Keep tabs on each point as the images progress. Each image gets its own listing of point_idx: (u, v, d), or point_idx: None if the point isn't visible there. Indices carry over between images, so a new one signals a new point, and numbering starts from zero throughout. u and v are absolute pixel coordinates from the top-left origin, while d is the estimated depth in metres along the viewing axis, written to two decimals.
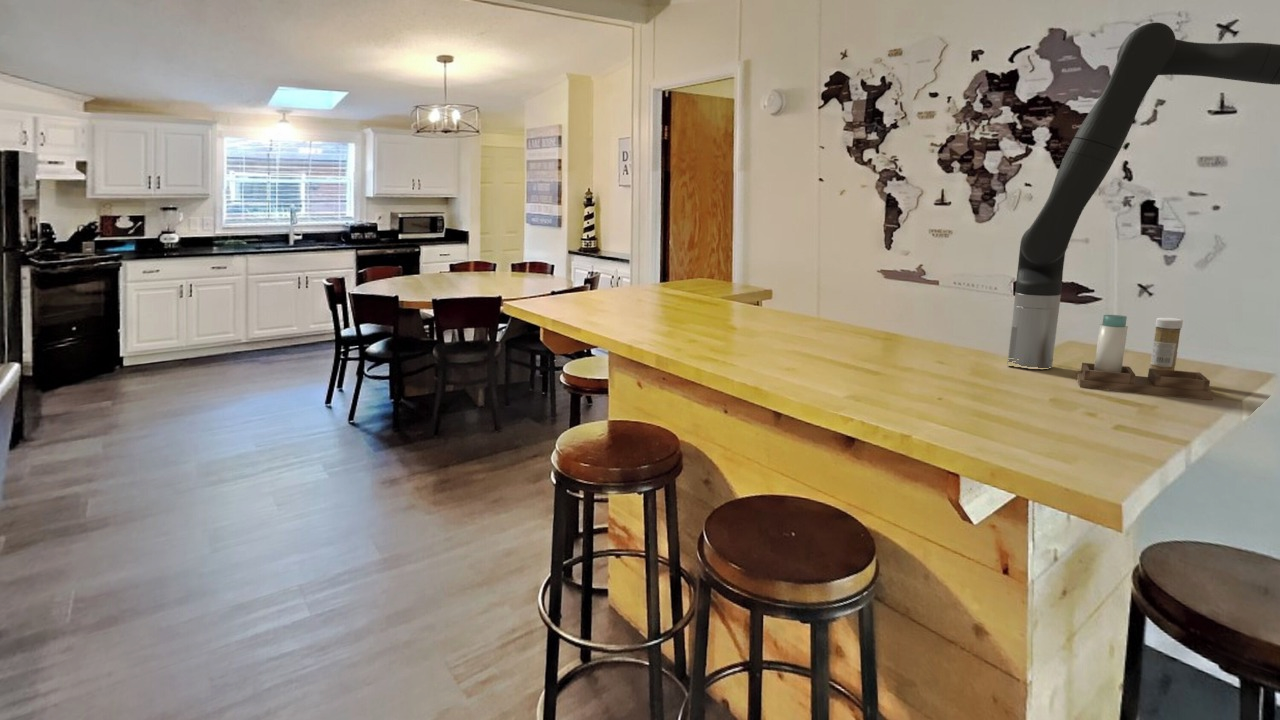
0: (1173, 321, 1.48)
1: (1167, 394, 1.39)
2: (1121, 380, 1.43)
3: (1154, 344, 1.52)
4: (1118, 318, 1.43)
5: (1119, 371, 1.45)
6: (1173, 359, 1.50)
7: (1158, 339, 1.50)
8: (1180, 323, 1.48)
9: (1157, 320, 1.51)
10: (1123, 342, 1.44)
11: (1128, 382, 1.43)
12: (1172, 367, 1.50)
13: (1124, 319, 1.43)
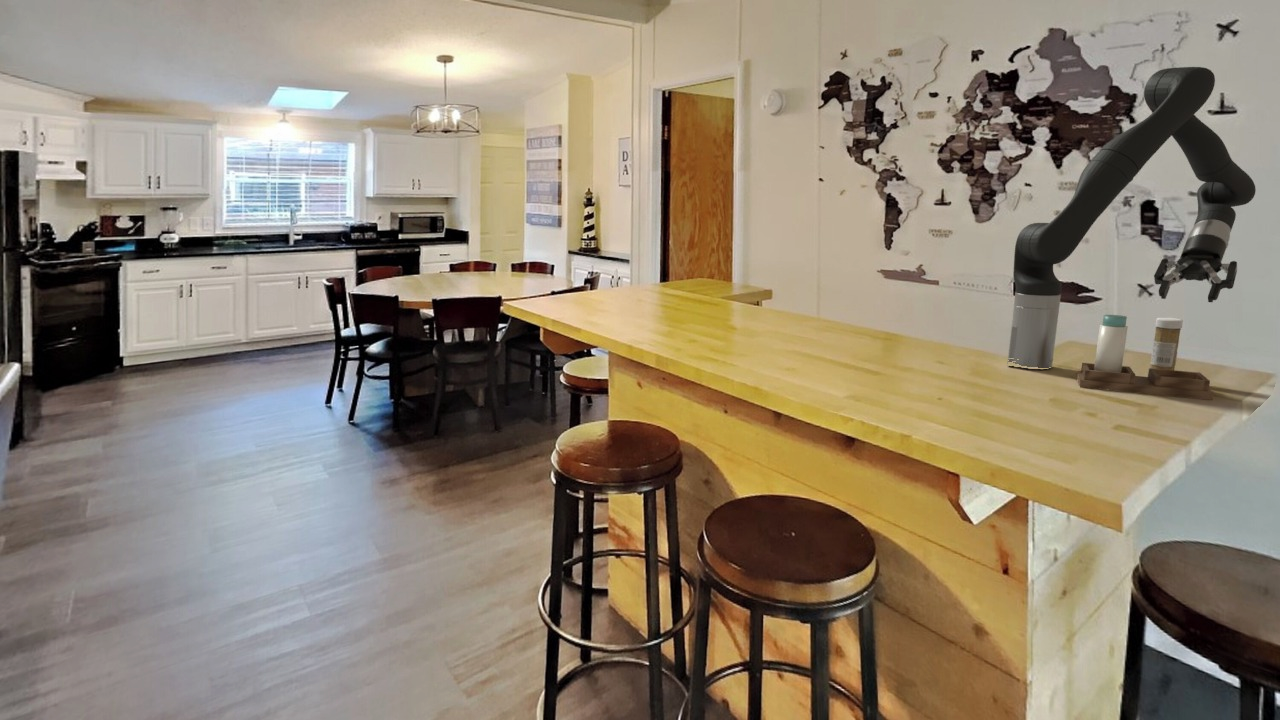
0: (1173, 321, 1.48)
1: (1167, 394, 1.39)
2: (1121, 380, 1.43)
3: (1154, 344, 1.52)
4: (1118, 318, 1.43)
5: (1119, 371, 1.45)
6: (1173, 359, 1.50)
7: (1158, 339, 1.50)
8: (1180, 323, 1.48)
9: (1157, 320, 1.51)
10: (1123, 342, 1.44)
11: (1128, 382, 1.43)
12: (1172, 367, 1.50)
13: (1124, 319, 1.43)
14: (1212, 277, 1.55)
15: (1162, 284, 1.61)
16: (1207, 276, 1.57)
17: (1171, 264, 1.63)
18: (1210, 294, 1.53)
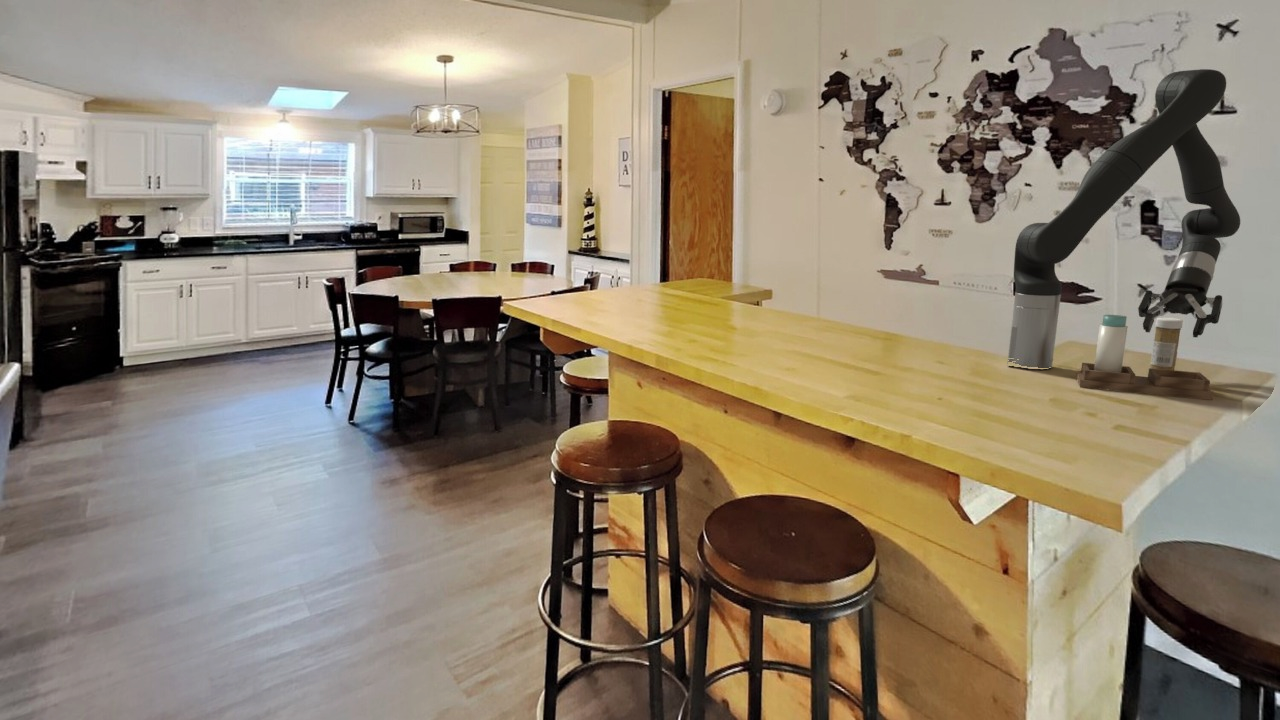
0: (1173, 321, 1.48)
1: (1167, 394, 1.39)
2: (1121, 380, 1.43)
3: (1154, 344, 1.52)
4: (1118, 318, 1.43)
5: (1119, 370, 1.45)
6: (1173, 359, 1.50)
7: (1158, 339, 1.50)
8: (1180, 323, 1.48)
9: (1157, 320, 1.51)
10: (1123, 342, 1.44)
11: (1128, 382, 1.43)
12: (1172, 367, 1.50)
13: (1124, 319, 1.43)
14: (1197, 311, 1.51)
15: (1146, 317, 1.57)
16: (1192, 310, 1.53)
17: (1155, 296, 1.59)
18: (1195, 329, 1.49)
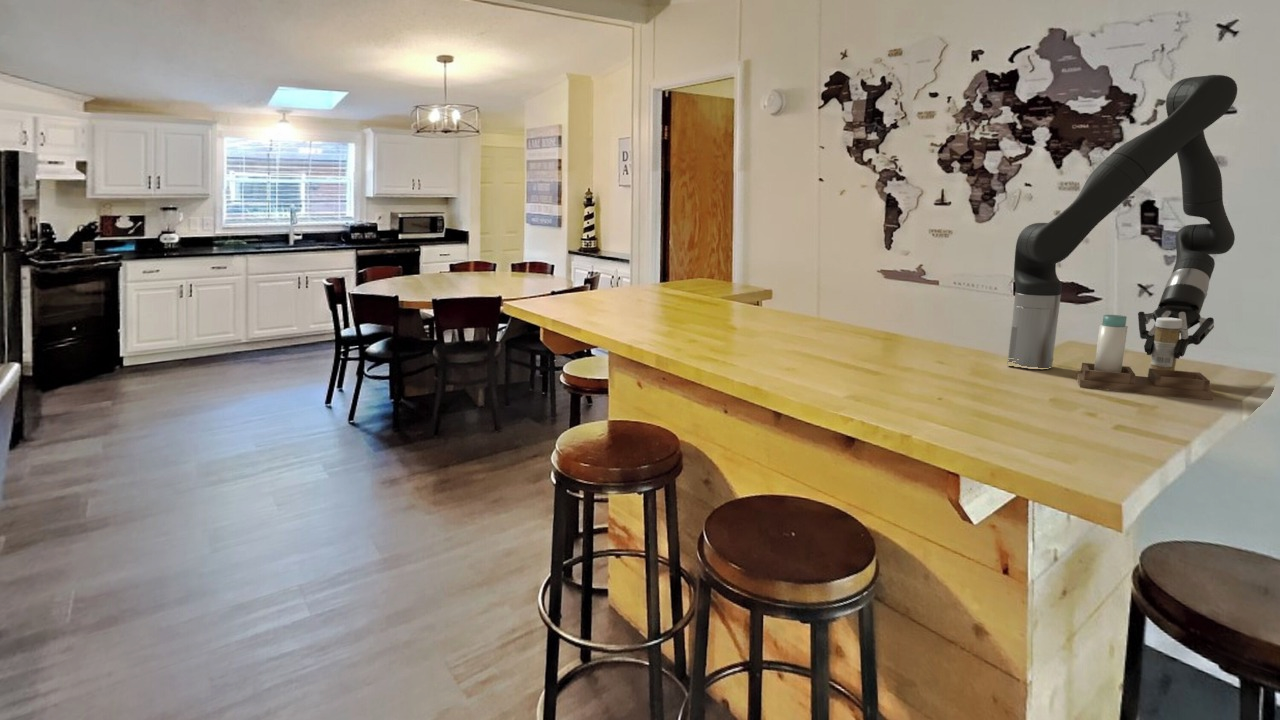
0: (1173, 321, 1.48)
1: (1167, 394, 1.39)
2: (1121, 380, 1.43)
3: (1154, 344, 1.52)
4: (1118, 318, 1.43)
5: (1119, 370, 1.45)
6: (1173, 359, 1.50)
7: (1158, 339, 1.50)
8: (1180, 323, 1.48)
9: (1157, 320, 1.51)
10: (1123, 342, 1.44)
11: (1128, 382, 1.43)
12: (1172, 367, 1.50)
13: (1124, 319, 1.43)
14: (1182, 331, 1.50)
15: (1148, 339, 1.53)
16: None
17: (1149, 316, 1.56)
18: (1177, 350, 1.48)
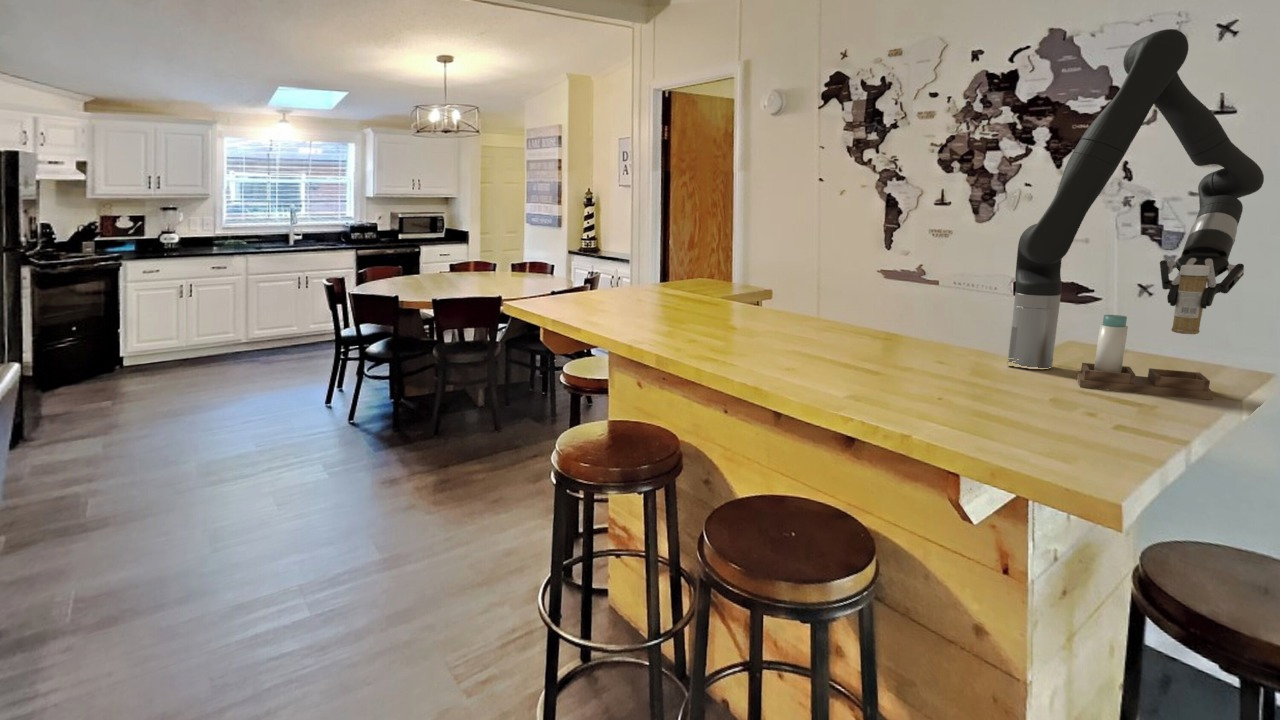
0: (1200, 267, 1.36)
1: (1167, 394, 1.39)
2: (1121, 380, 1.43)
3: (1178, 294, 1.39)
4: (1118, 318, 1.43)
5: (1119, 371, 1.45)
6: (1199, 309, 1.38)
7: (1183, 288, 1.38)
8: (1207, 270, 1.36)
9: (1182, 267, 1.38)
10: (1123, 342, 1.44)
11: (1128, 382, 1.43)
12: (1198, 318, 1.38)
13: (1124, 319, 1.43)
14: (1209, 279, 1.38)
15: (1171, 289, 1.41)
16: None
17: (1172, 265, 1.44)
18: (1204, 299, 1.36)
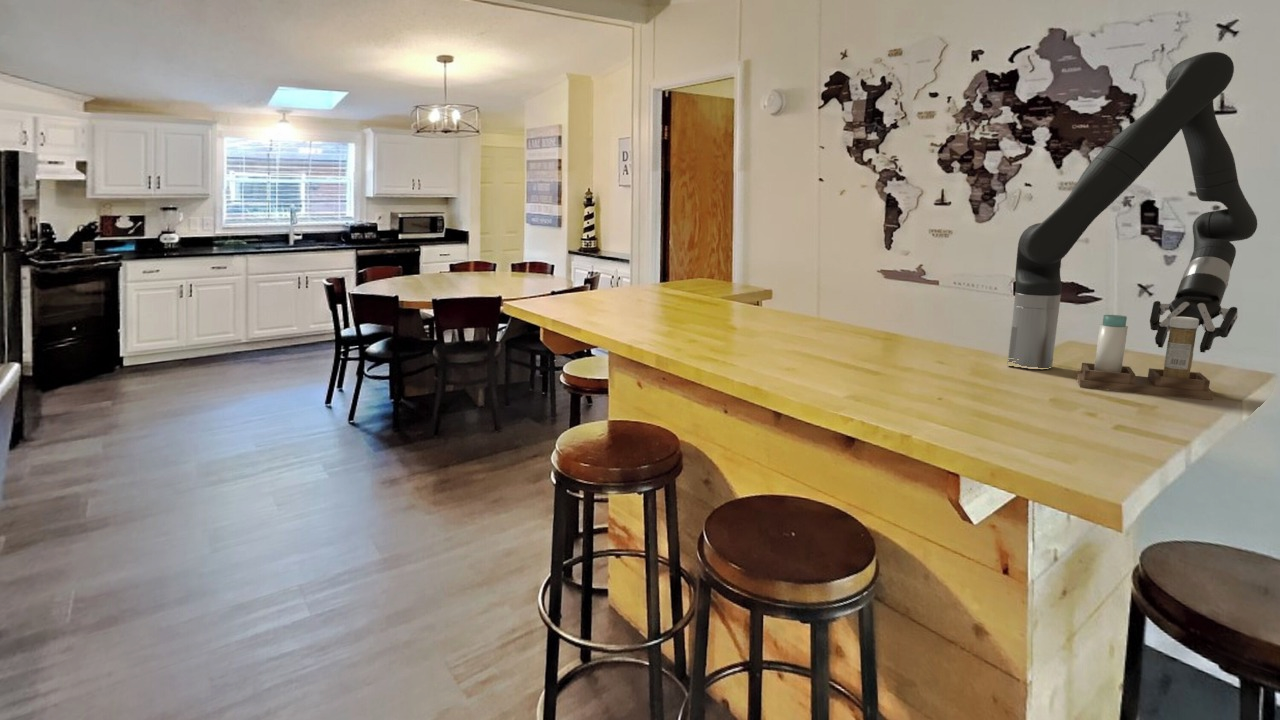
0: (1189, 320, 1.38)
1: (1167, 394, 1.39)
2: (1121, 380, 1.43)
3: (1168, 345, 1.42)
4: (1118, 318, 1.43)
5: (1119, 370, 1.45)
6: (1189, 361, 1.40)
7: (1173, 340, 1.41)
8: (1196, 322, 1.38)
9: (1171, 319, 1.41)
10: (1123, 342, 1.44)
11: (1128, 382, 1.43)
12: (1188, 370, 1.40)
13: (1124, 319, 1.43)
14: (1206, 323, 1.39)
15: (1159, 331, 1.43)
16: (1202, 321, 1.41)
17: (1165, 307, 1.46)
18: (1202, 344, 1.37)
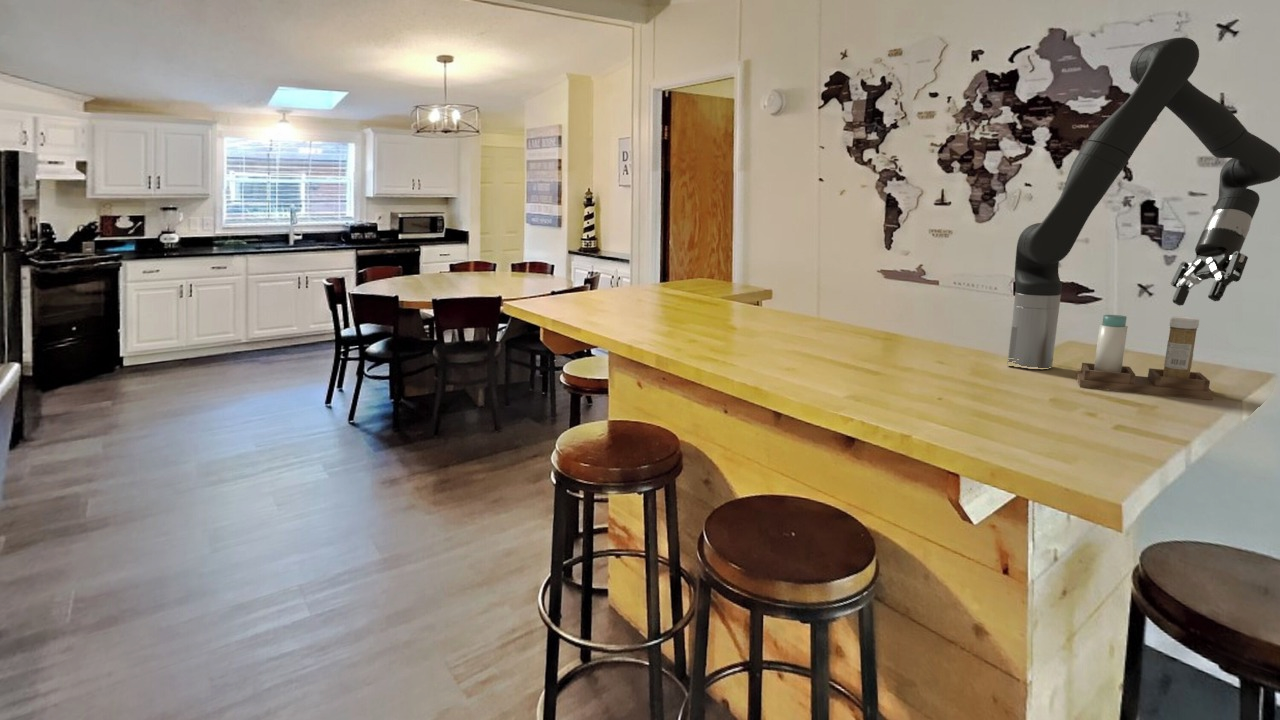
0: (1189, 320, 1.38)
1: (1167, 394, 1.39)
2: (1121, 380, 1.43)
3: (1168, 345, 1.42)
4: (1118, 318, 1.43)
5: (1119, 370, 1.45)
6: (1189, 361, 1.40)
7: (1173, 340, 1.41)
8: (1196, 323, 1.38)
9: (1172, 319, 1.41)
10: (1123, 342, 1.44)
11: (1128, 382, 1.43)
12: (1188, 370, 1.40)
13: (1124, 319, 1.43)
14: (1215, 274, 1.47)
15: (1177, 291, 1.56)
16: None
17: (1189, 266, 1.56)
18: (1210, 294, 1.46)
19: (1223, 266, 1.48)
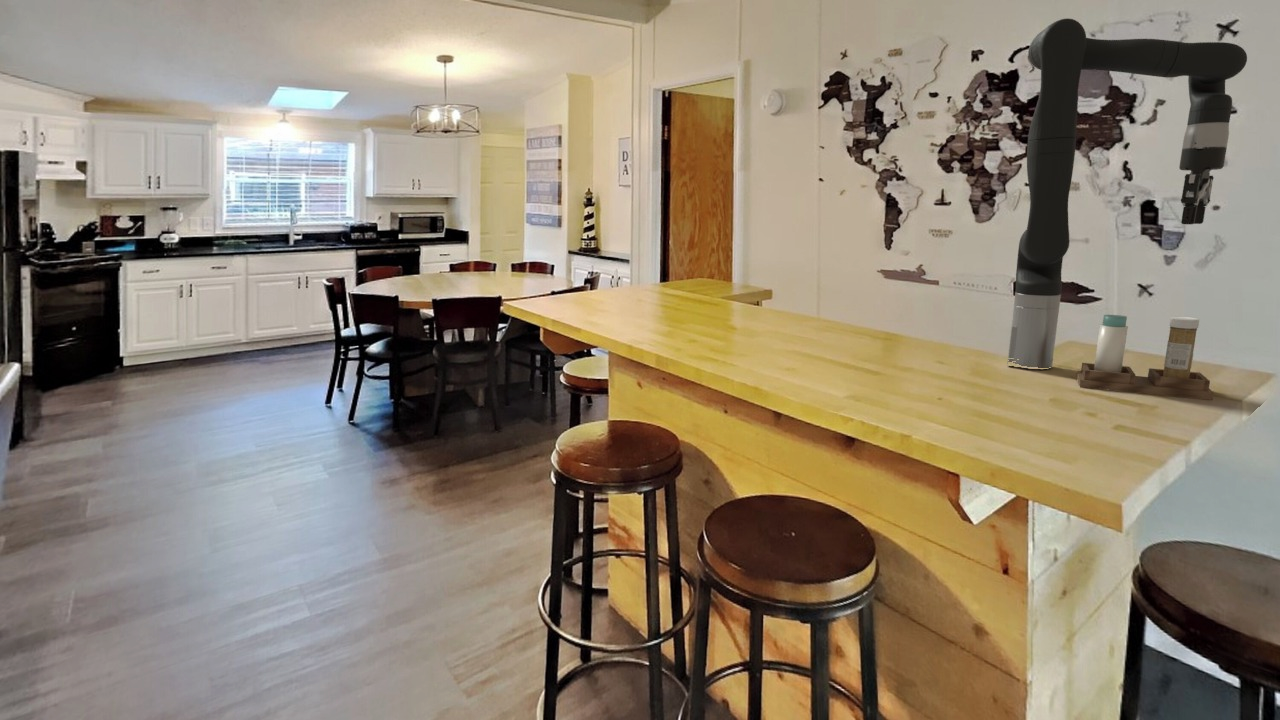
0: (1189, 320, 1.38)
1: (1167, 394, 1.39)
2: (1121, 380, 1.43)
3: (1168, 345, 1.42)
4: (1118, 318, 1.43)
5: (1119, 371, 1.45)
6: (1189, 361, 1.40)
7: (1173, 340, 1.41)
8: (1196, 323, 1.38)
9: (1172, 319, 1.41)
10: (1123, 342, 1.44)
11: (1128, 382, 1.43)
12: (1188, 370, 1.40)
13: (1124, 319, 1.43)
14: None
15: None
16: None
17: None
18: None
19: None
